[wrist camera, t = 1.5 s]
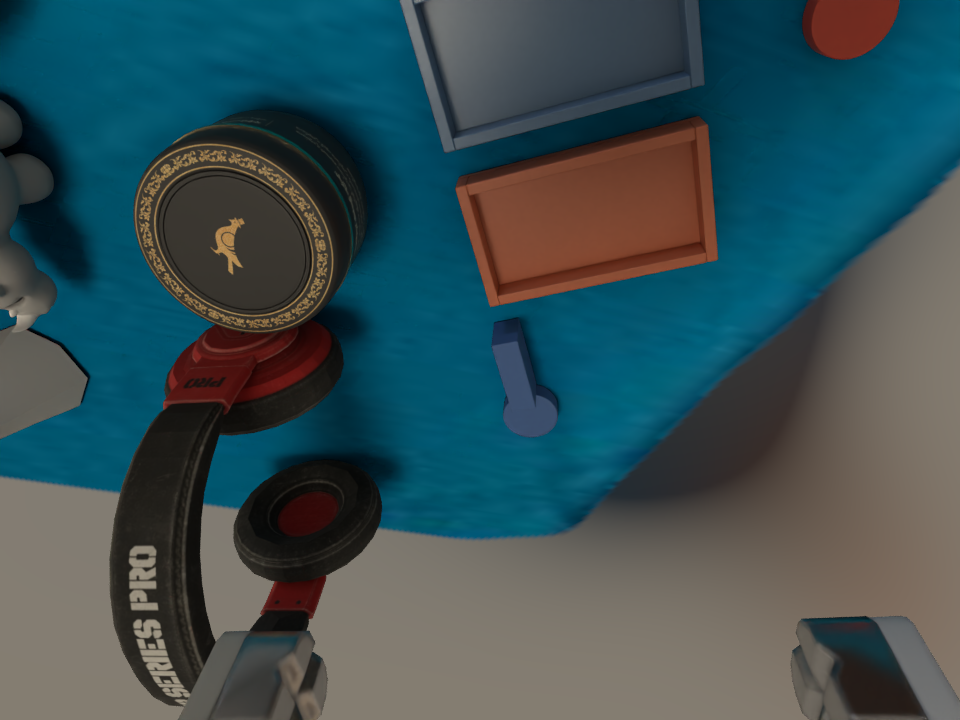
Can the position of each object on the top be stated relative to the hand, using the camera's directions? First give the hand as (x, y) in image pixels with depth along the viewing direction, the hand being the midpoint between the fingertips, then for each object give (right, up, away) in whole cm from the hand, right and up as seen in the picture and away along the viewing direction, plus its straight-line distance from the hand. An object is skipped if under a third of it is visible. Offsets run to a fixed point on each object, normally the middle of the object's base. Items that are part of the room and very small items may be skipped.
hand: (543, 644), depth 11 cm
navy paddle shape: (+2, +4, +30) cm, 31 cm away
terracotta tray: (+5, +13, +24) cm, 28 cm away
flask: (-32, +4, +33) cm, 47 cm away
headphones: (-13, +2, +33) cm, 36 cm away
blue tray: (+2, +20, +19) cm, 28 cm away
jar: (-12, +14, +25) cm, 31 cm away
